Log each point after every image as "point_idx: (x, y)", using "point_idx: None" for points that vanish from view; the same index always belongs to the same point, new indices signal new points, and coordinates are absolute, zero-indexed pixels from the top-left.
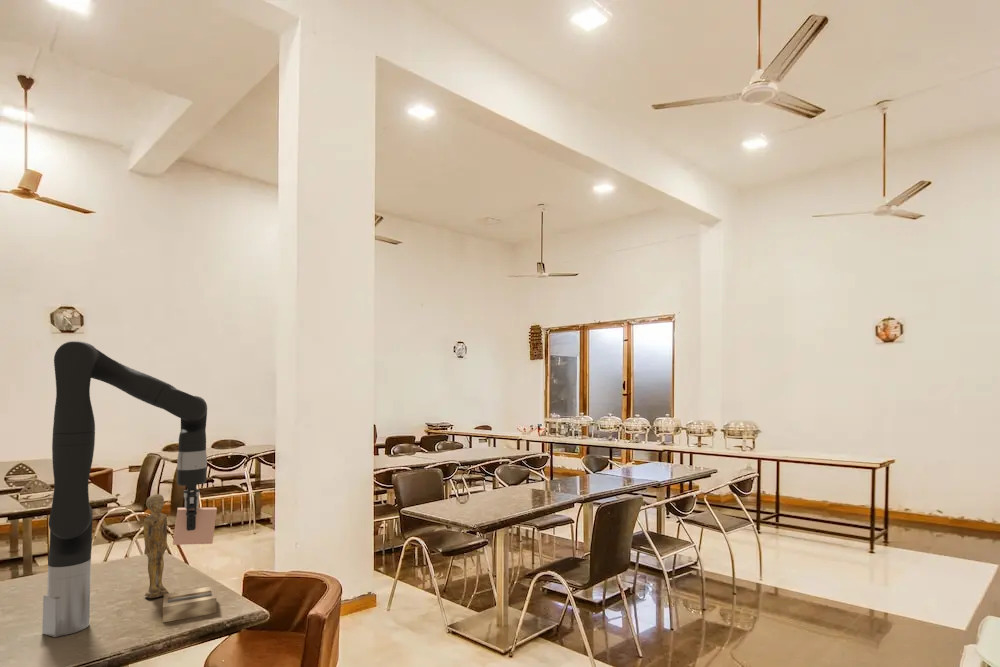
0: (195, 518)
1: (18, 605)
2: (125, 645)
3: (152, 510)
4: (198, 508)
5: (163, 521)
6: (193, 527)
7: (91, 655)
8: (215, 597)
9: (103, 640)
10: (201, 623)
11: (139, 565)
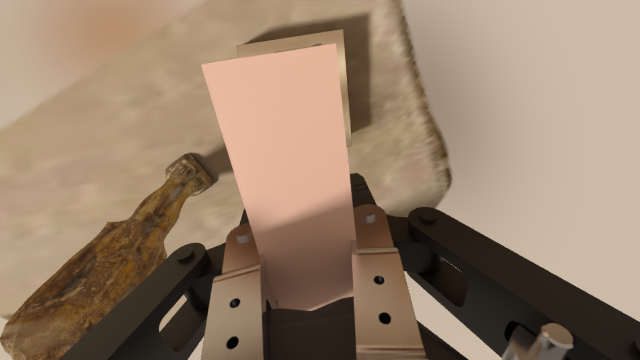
0: (357, 197)
1: None
2: (421, 170)
3: None
4: (304, 230)
5: (60, 310)
6: (360, 176)
7: (431, 202)
8: (337, 32)
9: (382, 202)
10: (387, 57)
11: None
